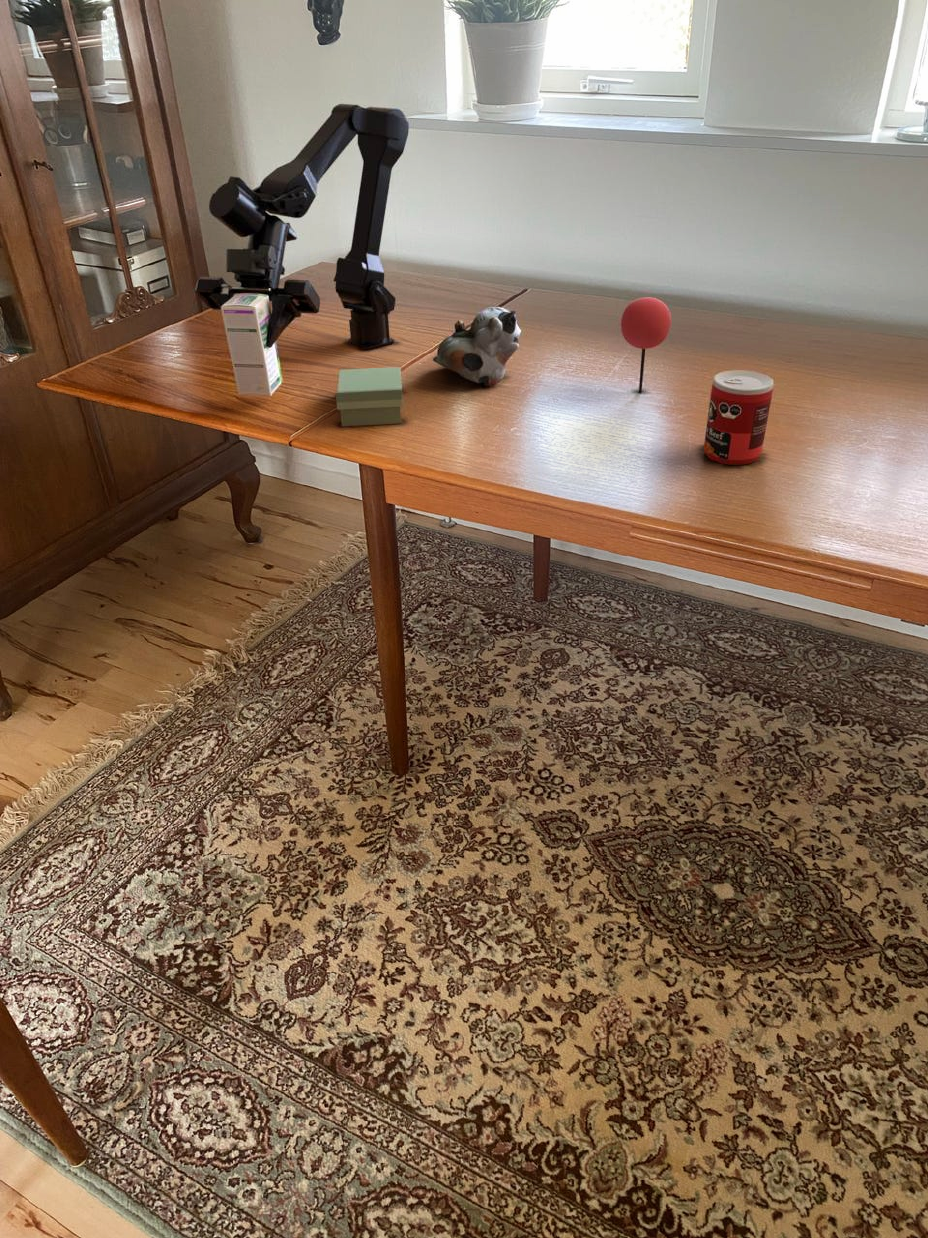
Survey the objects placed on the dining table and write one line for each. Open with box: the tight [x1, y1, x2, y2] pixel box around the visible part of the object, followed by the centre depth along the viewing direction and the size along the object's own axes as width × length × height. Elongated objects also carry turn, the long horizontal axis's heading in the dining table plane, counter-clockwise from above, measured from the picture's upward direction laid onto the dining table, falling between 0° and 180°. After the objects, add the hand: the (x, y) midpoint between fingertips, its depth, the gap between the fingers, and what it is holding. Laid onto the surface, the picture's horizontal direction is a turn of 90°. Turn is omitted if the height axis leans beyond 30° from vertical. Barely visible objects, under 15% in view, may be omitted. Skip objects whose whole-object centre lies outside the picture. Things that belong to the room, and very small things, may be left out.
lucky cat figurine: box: [432, 306, 522, 388], centre depth 155 cm, size 15×12×14 cm
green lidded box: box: [335, 366, 404, 427], centre depth 146 cm, size 10×14×6 cm
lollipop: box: [620, 296, 672, 393], centre depth 147 cm, size 8×8×15 cm
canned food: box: [703, 369, 775, 466], centre depth 128 cm, size 8×8×11 cm
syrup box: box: [220, 293, 284, 397], centre depth 145 cm, size 6×6×14 cm
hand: (249, 345), depth 143 cm, fingers closed on syrup box, 6 cm apart
